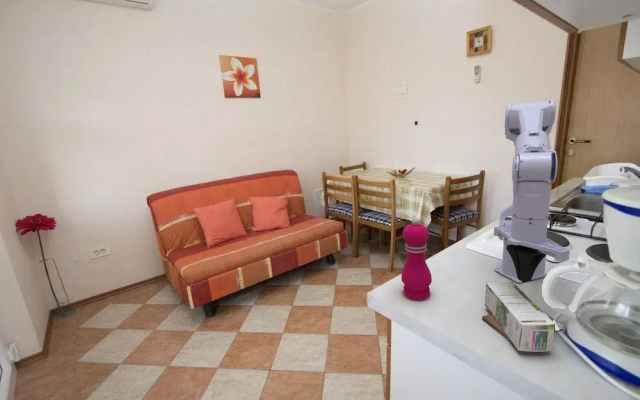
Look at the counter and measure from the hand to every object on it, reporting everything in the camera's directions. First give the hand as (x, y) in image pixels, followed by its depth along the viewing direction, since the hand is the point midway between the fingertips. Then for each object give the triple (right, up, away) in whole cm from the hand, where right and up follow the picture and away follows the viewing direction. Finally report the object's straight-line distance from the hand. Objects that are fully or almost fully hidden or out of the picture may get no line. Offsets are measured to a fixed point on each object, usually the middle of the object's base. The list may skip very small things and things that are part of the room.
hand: (524, 279), depth 61 cm
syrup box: (-2, -5, +6) cm, 8 cm away
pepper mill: (-17, -8, +15) cm, 24 cm away
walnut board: (0, -9, +1) cm, 10 cm away
